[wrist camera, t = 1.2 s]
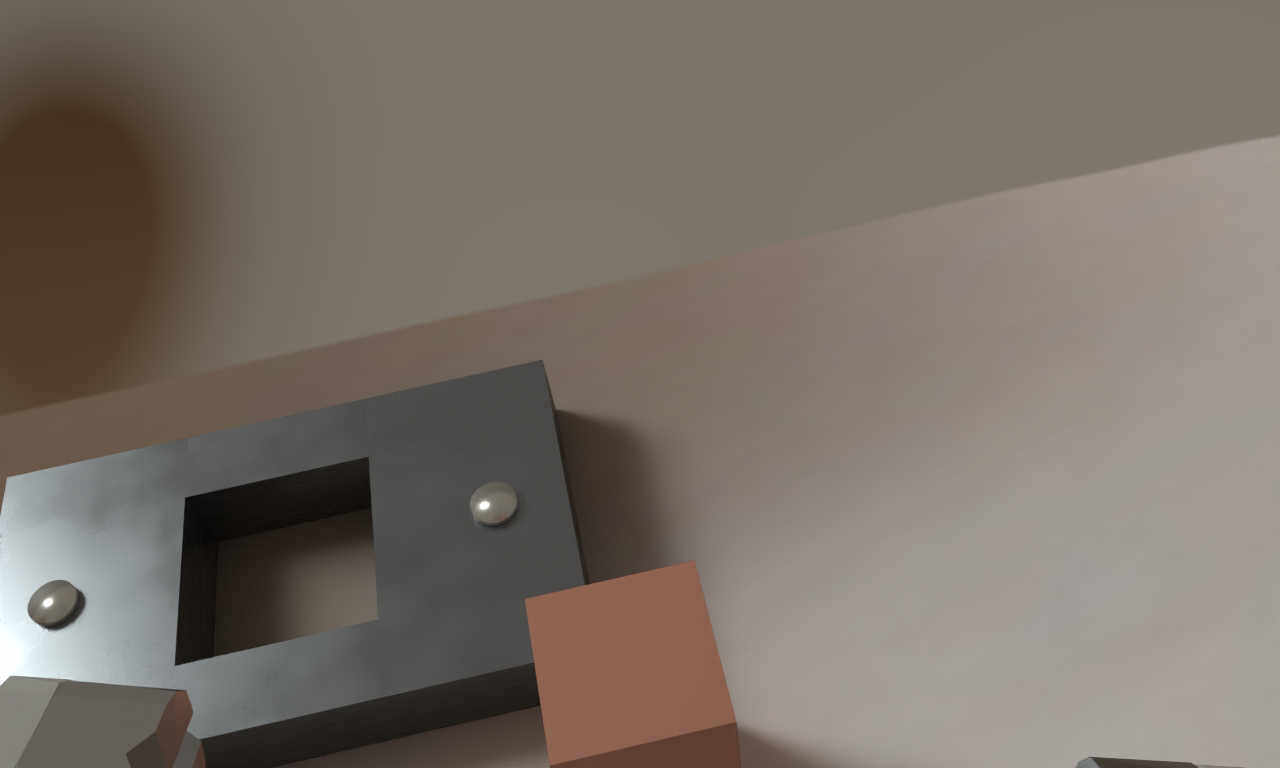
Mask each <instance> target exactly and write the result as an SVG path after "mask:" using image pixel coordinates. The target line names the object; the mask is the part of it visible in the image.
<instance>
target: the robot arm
mask: <svg viewBox="0 0 1280 768" xmlns="http://www.w3.org/2000/svg"><path fill="white" fill-rule="evenodd" d="M192 715H193V709H192V706H191V703H190V700H189V697H188V694H187V690H178V689H166V688H154V687H142V686H130V685H118V684H106V683H94V682H83V681H73V680H69V679H55V678H41V677H26V676H12V675H10V676H9V677H8V678H7V679H6V680H5V681H4V682H3V683H2V684H1V685H0V768H205V755H204V751H203V746H202V742H201V741H200V740H199V739H197V738H196V737H195V736H193V735H192V734H191V733H190V732H188V731H187V728H188V726H189V723H190V720H191V718H192ZM1076 768H1244V767H1227V766H1210V765H1194V764H1193V763H1187V762H1170V761H1152V760H1135V759H1118V758H1100V757H1088V758H1086V759H1084V760H1082V761H1080V762H1079V763H1078V764H1077V766H1076Z"/></svg>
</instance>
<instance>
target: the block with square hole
mask: <svg viewBox="0 0 1280 768" xmlns="http://www.w3.org/2000/svg"><path fill="white" fill-rule="evenodd" d="M369 507H372V520H373V537H374V554H375V571H376V587H377V604H378V620H375V621H371V622H366V623H362V624H357V625H353V626H349V627H344V628H340V629H335V630H331V631H327V632H322V633H318V634H314V635H309V636H305V637H300V638H296V639H292V640H287V641H283V642H278V643H274V644H270V645H265V646H261V647H256V648H252V649H248V650H243V651H239V652H234V653H230V654H226V655H221V656H217V657H213V648H214V623H215V597H216V572H217V547H218V541H221V540H226V539H230V538H235V537H239V536H244V535H248V534H253V533H257V532H262V531H266V530H271V529H275V528H280V527H284V526H288V525H293V524H297V523H302V522H306V521H311V520H315V519H320V518H324V517H329V516H333V515H338V514H342V513H346V512H351V511H355V510H360V509H364V508H369ZM584 585H589V581H588V576H587V570H586V565H585V560H584V555H583V550H582V544H581V539H580V534H579V529H578V523H577V518H576V513H575V508H574V502H573V497H572V492H571V487H570V482H569V476H568V471H567V466H566V461H565V455H564V450H563V445H562V440H561V435H560V429H559V424H558V419H557V414H556V408H555V405H554V401H553V397H552V394H551V390H550V386H549V382H548V379H547V375H546V371H545V368H544V364H543V360H539V361H535V362H530V363H526V364H521V365H517V366H512V367H507V368H503V369H498V370H494V371H489V372H485V373H480V374H476V375H471V376H467V377H462V378H458V379H453V380H448V381H444V382H439V383H435V384H430V385H426V386H421V387H417V388H412V389H408V390H403V391H399V392H394V393H390V394H385V395H380V396H376V397H371V398H367V399H362V400H358V401H353V402H349V403H344V404H340V405H335V406H331V407H326V408H321V409H317V410H312V411H308V412H303V413H299V414H294V415H290V416H285V417H281V418H276V419H272V420H267V421H263V422H258V423H253V424H249V425H244V426H240V427H235V428H231V429H226V430H222V431H217V432H213V433H208V434H204V435H199V436H194V437H190V438H185V439H181V440H176V441H172V442H167V443H163V444H158V445H154V446H149V447H145V448H140V449H136V450H131V451H126V452H122V453H117V454H113V455H108V456H104V457H99V458H95V459H90V460H86V461H81V462H77V463H72V464H67V465H63V466H58V467H54V468H49V469H45V470H40V471H36V472H31V473H27V474H22V475H18V476H13V477H9V478H7V483H6V489H5V494H4V500H3V505H2V511H1V516H0V685H1V684H2V683H3V682H4V681H5V680H6V679H7V678H8V677H9V676H10V675H12V676H26V677H41V678H55V679H69V680H73V681H83V682H94V683H106V684H118V685H130V686H142V687H154V688H166V689H178V690H187V694H188V697H189V700H190V703H191V706H192V709H193V715H192V718H191V720H190V723H189V726H188V728H187V731H188V732H190V733H191V734H192V735H193V736H195V737H196V738H197V739H199V740H200V741H201V742H202V746H203V751H204V755H205V768H270V767H274V766H278V765H283V764H287V763H291V762H296V761H300V760H304V759H309V758H313V757H317V756H322V755H326V754H330V753H334V752H339V751H343V750H347V749H352V748H356V747H360V746H365V745H369V744H373V743H378V742H382V741H386V740H391V739H395V738H399V737H404V736H408V735H412V734H416V733H421V732H425V731H429V730H434V729H438V728H442V727H447V726H451V725H455V724H460V723H464V722H468V721H473V720H477V719H481V718H486V717H490V716H494V715H498V714H503V713H507V712H511V711H516V710H520V709H524V708H529V707H533V706H537V705H541V704H540V697H539V691H538V684H537V677H536V671H535V664H534V657H533V651H532V644H531V637H530V631H529V624H528V617H527V611H526V604H525V599H527V598H532V597H536V596H541V595H545V594H549V593H554V592H558V591H562V590H567V589H571V588H576V587H580V586H584Z"/></svg>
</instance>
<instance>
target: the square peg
mask: <svg viewBox="0 0 1280 768" xmlns="http://www.w3.org/2000/svg"><path fill="white" fill-rule="evenodd" d="M525 604H526V611H527V617H528V624H529V631H530V637H531V644H532V651H533V657H534V664H535V671H536V677H537V684H538V691H539V697H540V704H541V711H542V717H543V724H544V731H545V737H546V744H547V751H548V757H549V764H550V767H551V768H741V760H740V751H739V742H738V733H737V724H736V719H735V715H734V711H733V707H732V704H731V700H730V696H729V692H728V688H727V684H726V681H725V677H724V673H723V669H722V665H721V661H720V658H719V654H718V650H717V646H716V642H715V638H714V634H713V631H712V627H711V623H710V619H709V615H708V611H707V608H706V604H705V600H704V596H703V592H702V588H701V584H700V581H699V577H698V573H697V569H696V565H695V561H689V562H685V563H681V564H676V565H672V566H668V567H663V568H659V569H654V570H650V571H646V572H641V573H637V574H633V575H628V576H624V577H619V578H615V579H611V580H606V581H602V582H597V583H593V584H589V585H584V586H580V587H576V588H571V589H567V590H562V591H558V592H554V593H549V594H545V595H541V596H536V597H532V598H527V599H525Z"/></svg>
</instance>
